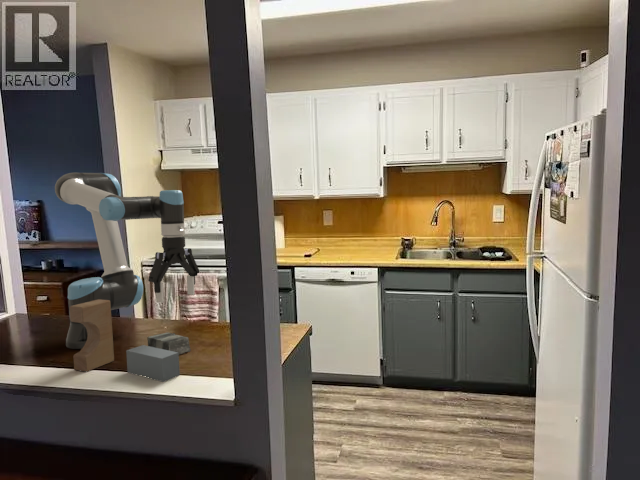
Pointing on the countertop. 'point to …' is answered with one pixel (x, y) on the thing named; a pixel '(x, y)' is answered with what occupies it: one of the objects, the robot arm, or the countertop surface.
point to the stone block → (170, 342)
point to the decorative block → (94, 334)
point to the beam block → (153, 362)
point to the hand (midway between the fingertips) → (176, 298)
